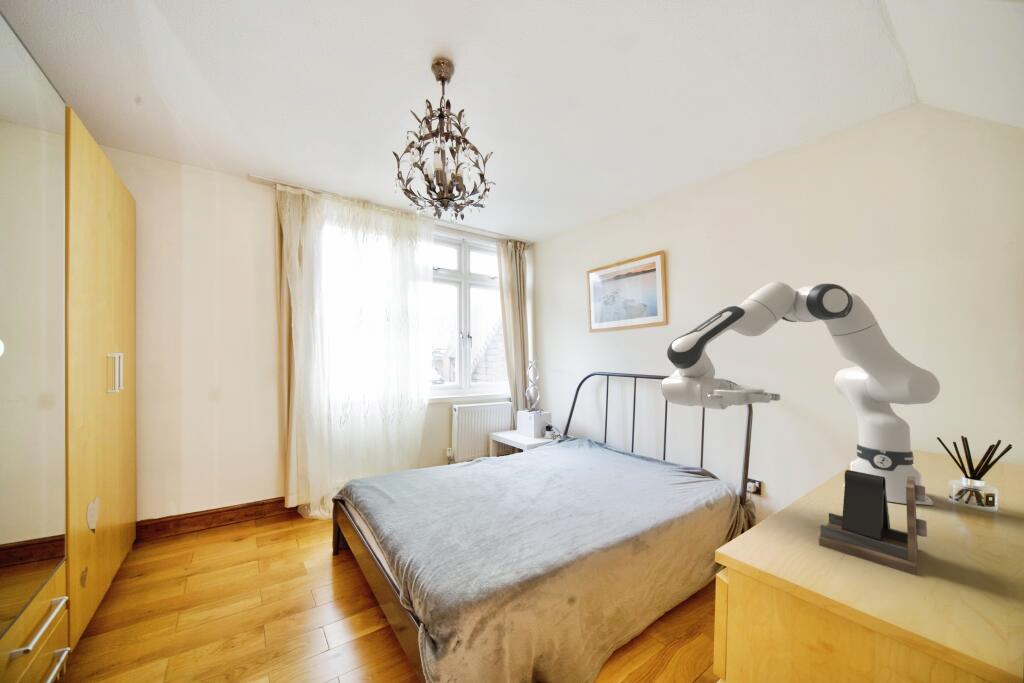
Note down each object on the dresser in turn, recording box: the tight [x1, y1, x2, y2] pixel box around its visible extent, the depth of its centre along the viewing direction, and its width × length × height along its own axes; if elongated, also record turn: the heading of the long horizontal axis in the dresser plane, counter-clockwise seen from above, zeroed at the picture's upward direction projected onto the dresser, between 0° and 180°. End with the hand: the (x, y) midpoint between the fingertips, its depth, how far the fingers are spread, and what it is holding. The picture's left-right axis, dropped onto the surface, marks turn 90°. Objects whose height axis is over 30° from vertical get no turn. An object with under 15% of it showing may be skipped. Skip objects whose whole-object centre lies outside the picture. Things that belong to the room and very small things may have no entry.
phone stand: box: [842, 469, 891, 541], centre depth 78 cm, size 9×6×12 cm, turn 124°
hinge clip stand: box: [818, 476, 928, 576], centre depth 77 cm, size 15×15×16 cm
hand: (775, 398), depth 95 cm, fingers open, 8 cm apart
